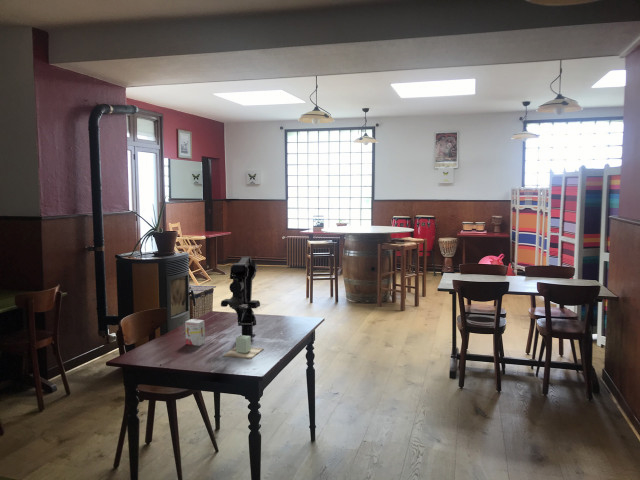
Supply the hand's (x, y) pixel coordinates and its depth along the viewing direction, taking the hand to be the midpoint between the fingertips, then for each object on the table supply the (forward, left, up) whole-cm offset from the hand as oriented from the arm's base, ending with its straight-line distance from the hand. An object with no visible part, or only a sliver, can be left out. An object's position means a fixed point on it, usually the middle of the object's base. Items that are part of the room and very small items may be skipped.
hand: (240, 320), depth 253 cm
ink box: (+3, -24, -13) cm, 27 cm away
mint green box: (+10, +6, -12) cm, 16 cm away
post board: (+10, +6, -12) cm, 17 cm away
